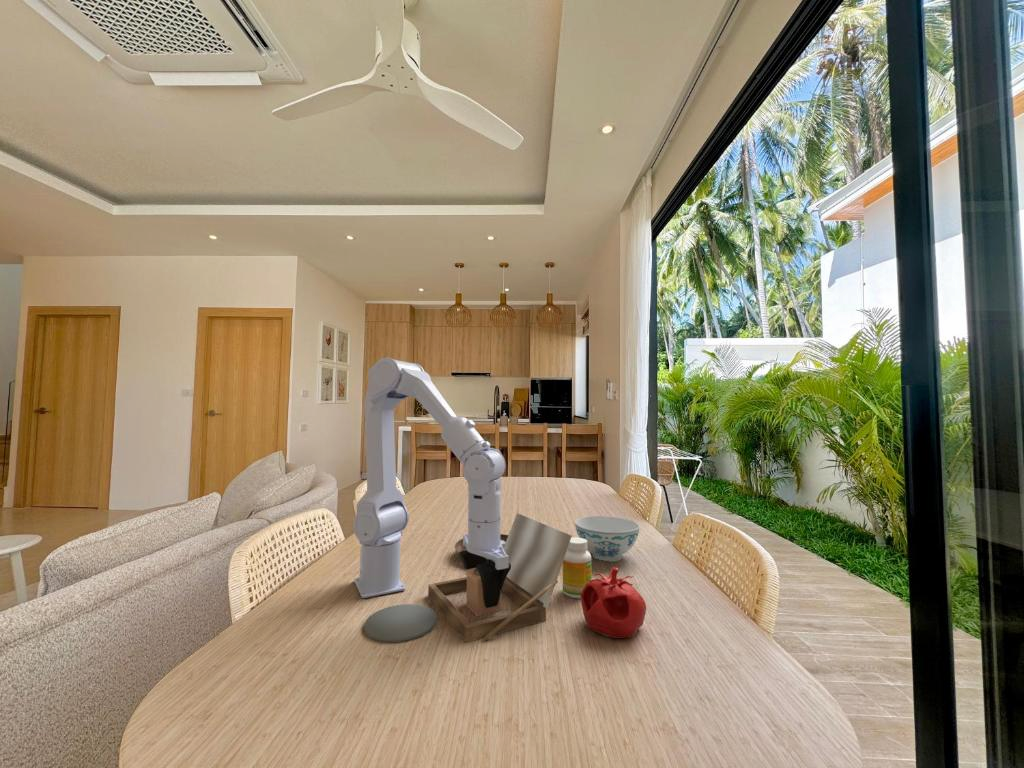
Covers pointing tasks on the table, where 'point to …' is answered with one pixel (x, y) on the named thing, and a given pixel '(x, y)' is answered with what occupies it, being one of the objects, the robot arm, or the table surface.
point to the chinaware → (607, 535)
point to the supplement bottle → (576, 567)
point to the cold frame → (514, 580)
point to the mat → (400, 623)
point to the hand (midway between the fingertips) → (483, 598)
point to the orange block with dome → (477, 594)
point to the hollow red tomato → (613, 606)
